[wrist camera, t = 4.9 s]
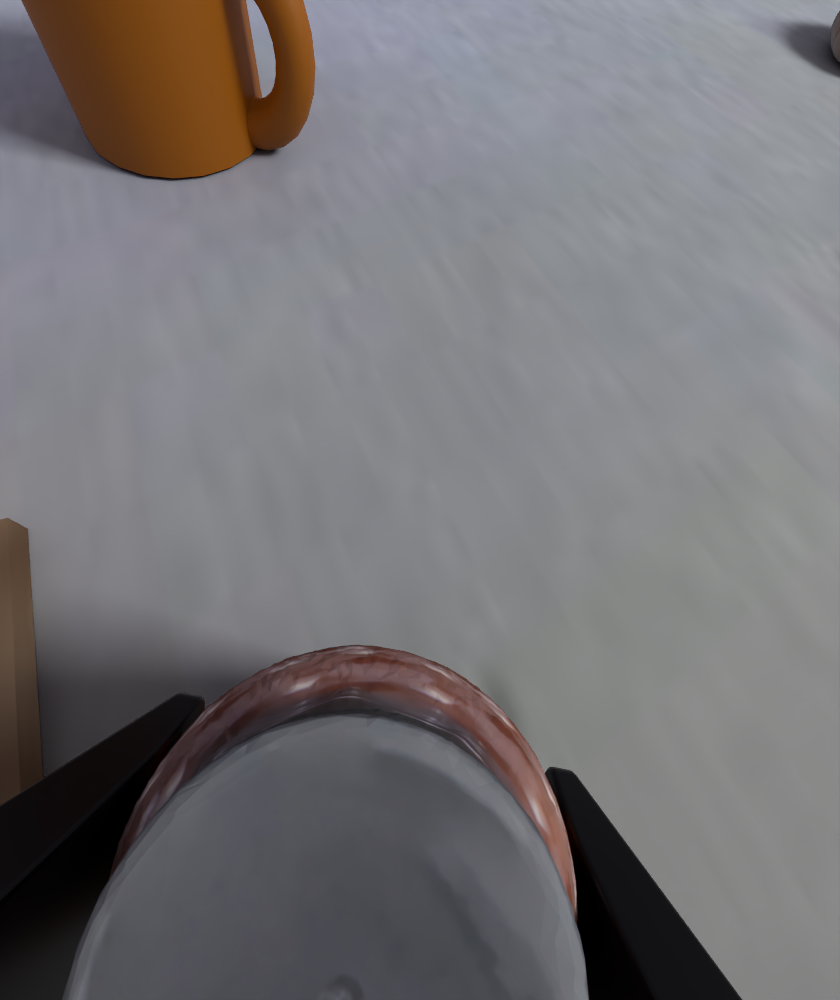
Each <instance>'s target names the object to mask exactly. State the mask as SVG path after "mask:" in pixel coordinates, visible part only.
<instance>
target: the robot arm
mask: <svg viewBox="0 0 840 1000" xmlns="http://www.w3.org/2000/svg"><path fill="white" fill-rule="evenodd" d="M204 709H205V701H204V698H203V697H201V696H198V695H193V694H188V693H179V694H176V695H174V696H173V697H171V698H170V699H168V700H167V701H165V702H163V703H162V704H160V705H159V706H157V707H155V708H154V709H152V710H151V711H149V712H147V713H146V714H144V715H143V716H141V717H139V718H138V719H136V720H135V721H133V722H132V723H130V724H128V725H127V726H125V727H124V728H122V729H120V730H119V731H117V732H116V733H114V734H112V735H111V736H109V737H108V738H106V739H104V740H103V741H101V742H100V743H98V744H97V745H95V746H93V747H92V748H90V749H89V750H87V751H85V752H84V753H82V754H81V755H79V756H77V757H76V758H74V759H73V760H71V761H69V762H68V763H66V764H65V765H63V766H62V767H60V768H58V769H57V770H55V771H54V772H52V773H50V774H49V775H47V776H46V777H44V778H42V779H41V780H39V781H38V782H36V783H35V784H33V785H31V786H30V787H28V788H27V789H25V790H23V791H22V792H20V793H19V794H17V795H15V796H14V797H12V798H11V799H9V800H7V801H6V802H4V803H3V804H1V805H0V1000H62V997H63V993H64V990H65V987H66V984H67V981H68V978H69V975H70V972H71V968H72V964H73V961H74V957H75V953H76V949H77V946H78V943H79V941H80V939H81V936H82V934H83V932H84V930H85V928H86V925H87V923H88V921H89V919H90V917H91V914H92V912H93V910H94V908H95V905H96V903H97V901H98V898H99V896H100V894H101V892H102V890H103V889H104V887H105V886H106V884H107V882H108V881H109V877H110V873H111V869H112V865H113V861H114V858H115V855H116V851H117V847H118V844H119V841H120V839H121V837H122V835H123V832H124V829H125V826H126V825H127V823H128V821H129V819H130V817H131V814H132V812H133V809H134V807H135V804H136V802H137V801H138V800H139V798H140V796H141V794H142V792H143V790H144V789H145V788H146V786H147V784H148V782H149V780H150V779H151V777H152V776H153V774H154V772H155V771H156V769H157V768H158V766H159V764H160V763H161V761H162V760H163V759H164V758H165V756H166V755H167V754H168V752H169V751H170V750H171V748H172V747H173V746H174V745H175V743H176V742H177V741H178V740H179V739H180V737H181V736H182V735H183V733H184V732H185V731H186V730H187V729H188V728H189V727H190V726H191V725H192V724H193V722H194V721H195V720H196V719H197V718H198V717H199V716H200V714H201V713H202V712H203V711H204ZM545 775H546V777H547V780H548V782H549V784H550V786H551V788H552V791H553V793H554V795H555V797H556V800H557V803H558V806H559V809H560V812H561V815H562V818H563V822H564V825H565V828H566V831H567V835H568V840H569V845H570V850H571V855H572V861H573V867H574V874H575V881H576V893H577V908H578V917H577V928H578V931H579V934H580V939H581V943H582V948H583V953H584V958H585V966H586V976H587V986H588V996H589V1000H742V999H741V997H740V996H739V995H738V993H737V992H736V991H735V989H734V988H733V987H732V985H731V984H730V982H729V981H728V980H727V978H726V977H725V976H724V974H723V973H722V972H721V970H720V969H719V968H718V966H717V965H716V964H715V962H714V961H713V959H712V958H711V957H710V955H709V954H708V953H707V951H706V950H705V949H704V947H703V946H702V945H701V943H700V942H699V941H698V939H697V938H696V937H695V935H694V934H693V932H692V931H691V930H690V928H689V927H688V926H687V924H686V923H685V922H684V920H683V919H682V918H681V916H680V915H679V914H678V912H677V911H676V909H675V908H674V907H673V905H672V904H671V903H670V901H669V900H668V899H667V897H666V896H665V895H664V893H663V892H662V891H661V889H660V888H659V887H658V885H657V884H656V882H655V881H654V880H653V878H652V877H651V876H650V874H649V873H648V872H647V870H646V869H645V868H644V866H643V865H642V864H641V862H640V861H639V859H638V858H637V857H636V855H635V854H634V853H633V851H632V850H631V849H630V847H629V846H628V845H627V843H626V842H625V841H624V839H623V838H622V837H621V835H620V834H619V832H618V831H617V830H616V828H615V827H614V826H613V824H612V823H611V822H610V820H609V819H608V818H607V816H606V815H605V814H604V812H603V811H602V810H601V808H600V807H599V805H598V804H597V803H596V801H595V800H594V799H593V797H592V796H591V795H590V793H589V792H588V791H587V789H586V788H585V787H584V785H583V784H582V782H581V781H580V780H579V778H578V777H577V776H576V775H575V774H574V773H573V772H572V771H570V770H566V769H561V768H556V767H550V768H548V769H547V771H546V772H545Z"/></svg>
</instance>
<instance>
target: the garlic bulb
mask: <svg viewBox="0 0 840 1000" xmlns="http://www.w3.org/2000/svg"><path fill="white" fill-rule="evenodd" d="M830 36H831V48H832V52H833V54H834V56H835V58H836V59H837V61H839V62H840V11H839V13H838V14H837V16H836V18H835V20H834V22H833V25H832V28H831V34H830Z"/></svg>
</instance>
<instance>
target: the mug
mask: <svg viewBox="0 0 840 1000" xmlns="http://www.w3.org/2000/svg"><path fill="white" fill-rule="evenodd" d="M254 1H255V2H256V4H257V5H258V7H259V9H260V11H261V13H262V15H263V17H264V19H265V22H266V24H267V26H268V29H269V32H270V36H271V39H272V42H273V47H274V53H275V59H276V78H275V83H274V87H273V89H272V91H271V93H270V94H269V95H267V96H266V97H264V98H262V95H261V89H260V83H259V77H258V71H257V65H256V59H255V53H254V46H253V40H252V34H251V28H250V22H249V16H248V10H247V4H246V0H22V3H23V5H24V7H25V9H26V11H27V13H28V15H29V17H30V19H31V21H32V23H33V26H34V28H35V30H36V32H37V34H38V36H39V38H40V40H41V42H42V44H43V47H44V49H45V51H46V53H47V55H48V57H49V59H50V61H51V63H52V65H53V68H54V70H55V72H56V74H57V76H58V78H59V80H60V82H61V84H62V86H63V89H64V91H65V93H66V95H67V97H68V99H69V101H70V103H71V105H72V107H73V110H74V112H75V114H76V116H77V118H78V120H79V122H80V124H81V126H82V128H83V131H84V133H85V135H86V137H87V139H88V140H89V141H90V143H91V144H92V146H93V147H94V149H95V150H96V151H97V153H98V154H99V155H101V156H102V157H104V158H105V159H107V160H108V161H110V162H112V163H113V164H115V165H116V166H118V167H120V168H123V169H127V170H130V171H133V172H136V173H139V174H142V175H146V176H156V177H166V178H184V177H195V176H205V175H208V174H211V173H215V172H218V171H221V170H224V169H228V168H231V167H232V166H234V165H236V164H237V163H239V162H241V161H242V160H244V159H246V158H247V157H249V156H251V154H252V153H253V152H254V151H255V150H256V148H259V149H264V150H272V149H277V148H281V147H284V146H286V145H287V144H288V143H290V142H291V141H292V140H293V139H295V138H296V137H297V136H298V135H299V133H300V131H301V129H302V128H303V126H304V124H305V122H306V121H307V118H308V115H309V111H310V107H311V103H312V99H313V95H314V82H315V59H314V50H313V41H312V33H311V29H310V25H309V21H308V17H307V13H306V9H305V6H304V2H303V0H254Z"/></svg>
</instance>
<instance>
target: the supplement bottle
mask: <svg viewBox="0 0 840 1000" xmlns="http://www.w3.org/2000/svg"><path fill="white" fill-rule="evenodd" d="M577 917H578V908H577V893H576V881H575V874H574V867H573V861H572V855H571V850H570V845H569V840H568V835H567V831H566V828H565V825H564V822H563V818H562V815H561V812H560V809H559V806H558V803H557V800H556V797H555V795H554V793H553V791H552V788H551V786H550V784H549V782H548V780H547V777H546V775H545V773H544V771H543V769H542V767H541V765H540V763H539V761H538V758H537V756H536V754H535V753H534V751H533V750H532V748H531V747H530V745H529V744H528V742H527V741H526V739H525V738H524V737H523V735H522V734H521V733H520V731H519V730H518V729H517V727H516V726H515V724H514V723H513V722H512V721H511V720H510V719H509V718H508V717H507V716H506V714H505V713H504V711H503V710H502V709H501V708H500V707H499V706H498V705H497V704H495V703H494V701H493V700H492V699H491V698H490V697H488V696H487V695H486V694H484V693H483V692H482V691H481V690H480V689H479V688H478V687H476V686H475V685H473V684H472V683H470V682H469V681H468V680H467V679H466V678H464V677H462V676H461V675H459V674H458V673H456V672H454V671H453V670H451V669H449V668H448V667H445V666H443V665H441V664H438V663H437V662H434V661H431V660H428V659H425V658H423V657H420V656H417V655H415V654H412V653H409V652H405V651H400V650H394V649H389V648H383V647H377V646H363V645H349V646H339V647H332V648H326V649H322V650H319V651H313V652H309V653H305V654H302V655H299V656H293V657H290V658H287V659H285V660H283V661H281V662H279V663H275V664H273V665H272V666H271V667H269V668H266V669H263V670H261V671H259V672H258V673H256V674H255V675H253V676H252V677H250V678H248V679H246V680H244V681H243V682H241V683H240V684H238V685H237V686H236V687H234V688H232V689H230V690H229V691H228V692H227V693H226V694H224V695H223V696H221V697H220V698H219V699H218V700H217V701H216V702H214V703H213V704H211V705H209V706H207V707H206V709H205V710H204V711H203V712H202V713H201V714H200V716H199V717H198V718H197V719H196V720H195V721H194V722H193V724H192V725H191V726H190V727H189V728H188V729H187V730H186V731H185V732H184V733H183V735H182V736H181V737H180V739H179V740H178V741H177V742H176V743H175V745H174V746H173V747H172V748H171V750H170V751H169V752H168V754H167V755H166V756H165V758H164V759H163V760H162V761H161V763H160V764H159V766H158V768H157V769H156V771H155V772H154V774H153V776H152V777H151V779H150V780H149V782H148V784H147V786H146V788H145V789H144V790H143V792H142V794H141V796H140V798H139V800H138V801H137V802H136V804H135V807H134V809H133V812H132V814H131V817H130V819H129V821H128V823H127V825H126V826H125V829H124V832H123V835H122V837H121V839H120V841H119V844H118V847H117V851H116V855H115V858H114V861H113V865H112V869H111V873H110V877H109V881H108V882H107V884H106V886H105V887H104V889H103V890H102V892H101V894H100V896H99V898H98V901H97V903H96V905H95V908H94V910H93V912H92V914H91V917H90V919H89V921H88V923H87V925H86V928H85V930H84V932H83V934H82V936H81V939H80V941H79V943H78V946H77V949H76V953H75V957H74V961H73V964H72V968H71V972H70V975H69V978H68V981H67V984H66V987H65V990H64V993H63V997H62V1000H589V996H588V986H587V976H586V966H585V958H584V953H583V948H582V943H581V939H580V934H579V931H578V928H577Z"/></svg>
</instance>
